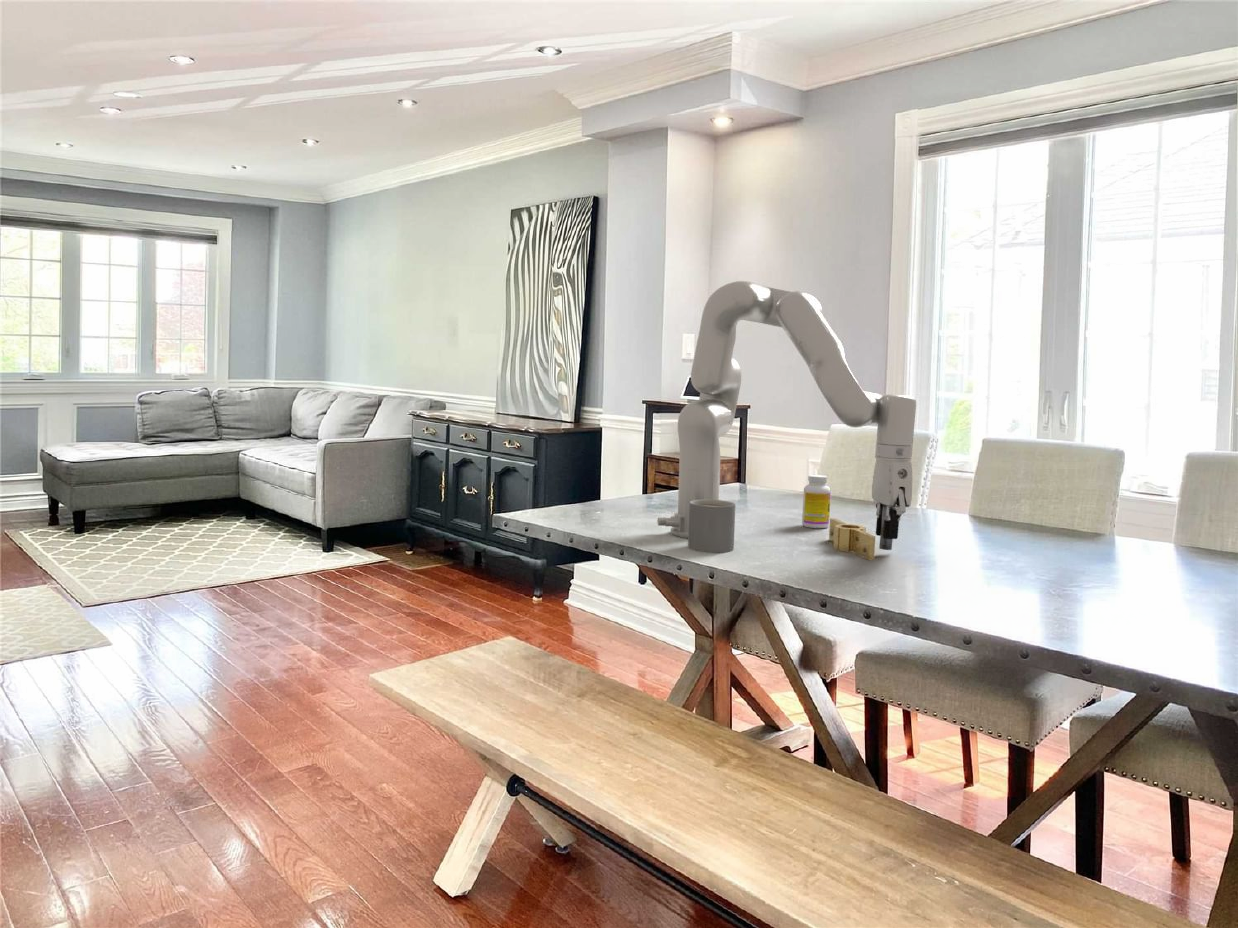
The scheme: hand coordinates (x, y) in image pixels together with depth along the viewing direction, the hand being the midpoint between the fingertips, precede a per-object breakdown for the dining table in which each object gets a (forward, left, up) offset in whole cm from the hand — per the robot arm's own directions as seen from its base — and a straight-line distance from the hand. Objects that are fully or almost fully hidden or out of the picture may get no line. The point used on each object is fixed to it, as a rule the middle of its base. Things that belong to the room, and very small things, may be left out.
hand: (886, 536), depth 201 cm
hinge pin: (0, 0, -3) cm, 3 cm away
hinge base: (-5, +3, -4) cm, 7 cm away
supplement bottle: (-2, +34, -4) cm, 34 cm away
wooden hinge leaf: (-5, +14, -4) cm, 15 cm away
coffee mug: (-35, +11, -4) cm, 37 cm away
